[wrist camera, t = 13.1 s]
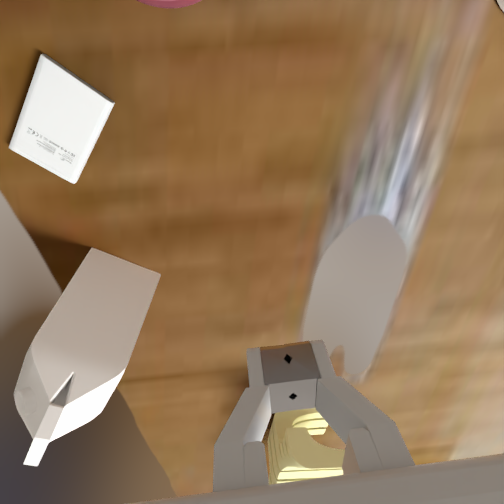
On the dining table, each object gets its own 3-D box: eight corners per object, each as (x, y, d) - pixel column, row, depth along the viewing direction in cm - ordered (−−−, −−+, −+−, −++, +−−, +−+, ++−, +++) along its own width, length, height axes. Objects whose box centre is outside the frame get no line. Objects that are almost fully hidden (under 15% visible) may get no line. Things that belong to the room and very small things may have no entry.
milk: (136, 319, 56) (80, 484, 34) (72, 298, 52) (-39, 469, 30) (161, 274, 51) (113, 434, 29) (91, 247, 47) (-25, 408, 25)
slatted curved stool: (278, 382, 70) (293, 469, 55) (342, 382, 72) (372, 466, 57) (261, 445, 86) (269, 526, 71) (313, 443, 88) (332, 521, 73)
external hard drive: (116, 102, 37) (78, 181, 41) (47, 53, 34) (14, 145, 38) (112, 103, 35) (73, 185, 40) (39, 53, 32) (6, 148, 37)
